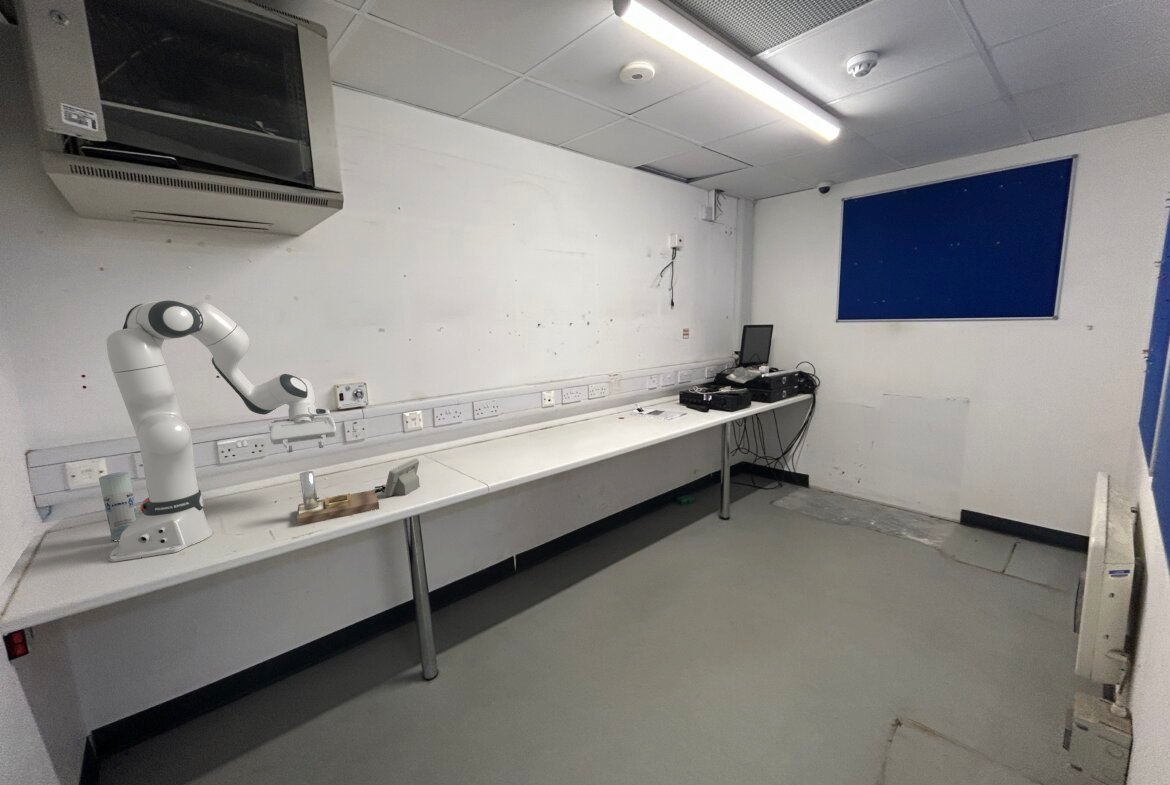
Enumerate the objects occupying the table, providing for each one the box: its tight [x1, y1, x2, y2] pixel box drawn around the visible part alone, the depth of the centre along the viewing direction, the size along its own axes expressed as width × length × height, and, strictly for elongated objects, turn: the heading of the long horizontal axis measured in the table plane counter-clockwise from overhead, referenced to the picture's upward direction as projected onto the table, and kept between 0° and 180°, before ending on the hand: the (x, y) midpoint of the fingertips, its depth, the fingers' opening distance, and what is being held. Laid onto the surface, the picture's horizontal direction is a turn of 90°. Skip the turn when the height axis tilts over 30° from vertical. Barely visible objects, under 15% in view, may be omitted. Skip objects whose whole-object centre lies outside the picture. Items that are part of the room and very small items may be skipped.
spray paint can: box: [98, 471, 139, 541], centre depth 139 cm, size 6×6×20 cm
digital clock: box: [383, 458, 420, 498], centre depth 173 cm, size 16×9×11 cm, turn 153°
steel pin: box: [299, 470, 318, 510], centre depth 151 cm, size 4×4×12 cm
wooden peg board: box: [296, 489, 380, 527], centre depth 156 cm, size 24×14×4 cm, turn 120°
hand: (305, 449), depth 159 cm, fingers open, 8 cm apart
